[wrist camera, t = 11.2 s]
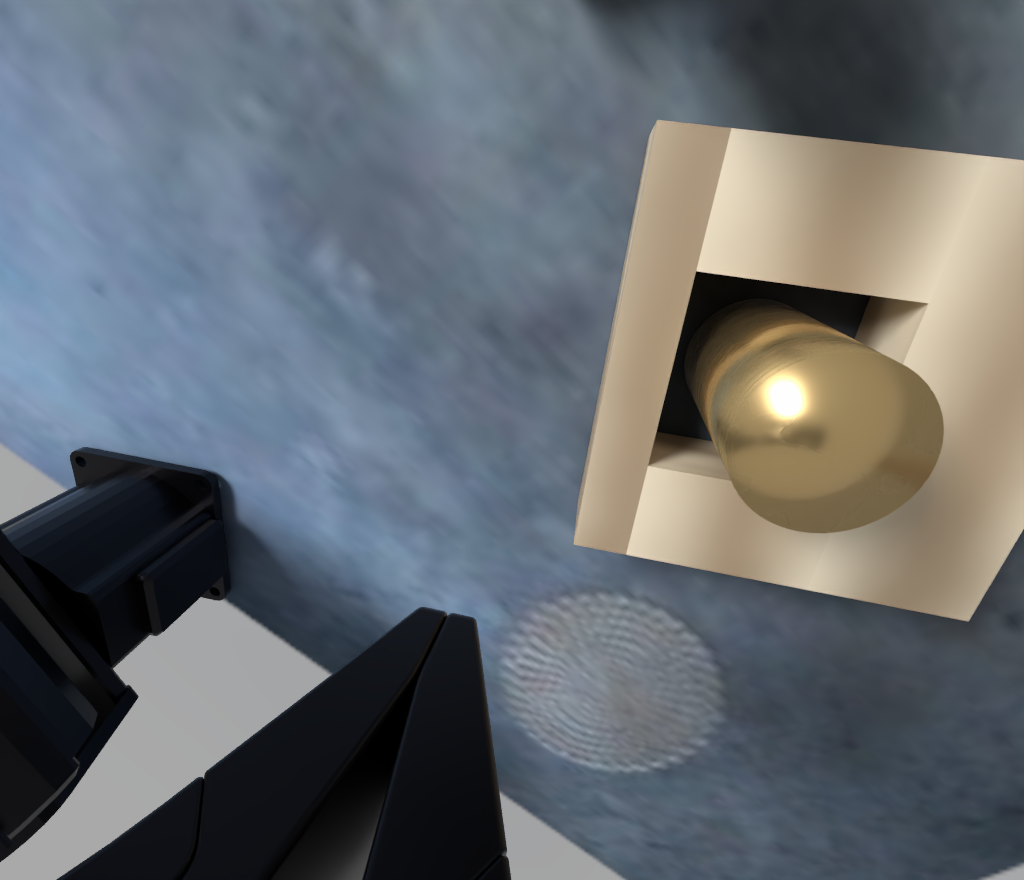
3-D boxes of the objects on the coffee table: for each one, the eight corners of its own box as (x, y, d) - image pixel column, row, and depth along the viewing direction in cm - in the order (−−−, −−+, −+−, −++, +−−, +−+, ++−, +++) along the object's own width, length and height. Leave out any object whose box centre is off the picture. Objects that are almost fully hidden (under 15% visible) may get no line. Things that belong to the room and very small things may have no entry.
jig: (578, 499, 20) (573, 544, 17) (648, 136, 15) (657, 120, 13) (916, 562, 19) (968, 621, 16) (1109, 189, 14) (1229, 183, 11)
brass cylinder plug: (671, 409, 18) (704, 514, 12) (702, 290, 17) (759, 336, 10) (792, 429, 18) (894, 549, 12) (836, 309, 16) (982, 369, 10)
